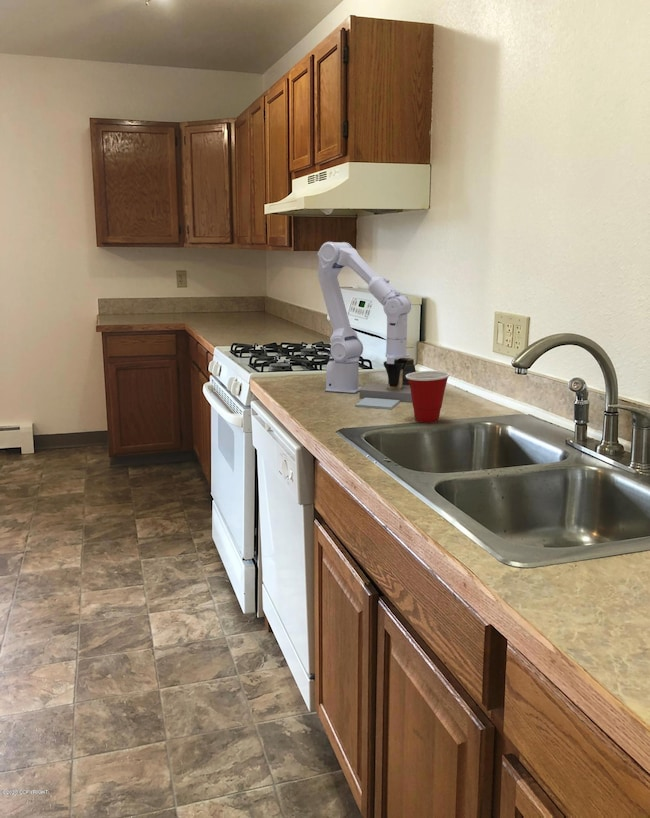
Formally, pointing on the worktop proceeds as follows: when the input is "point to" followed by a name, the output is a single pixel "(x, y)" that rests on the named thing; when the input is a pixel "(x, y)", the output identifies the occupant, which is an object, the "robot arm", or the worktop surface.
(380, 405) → the mat
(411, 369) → the mate gourd
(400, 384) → the plug
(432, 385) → the plastic cup
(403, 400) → the grey flat plate
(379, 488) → the worktop surface
